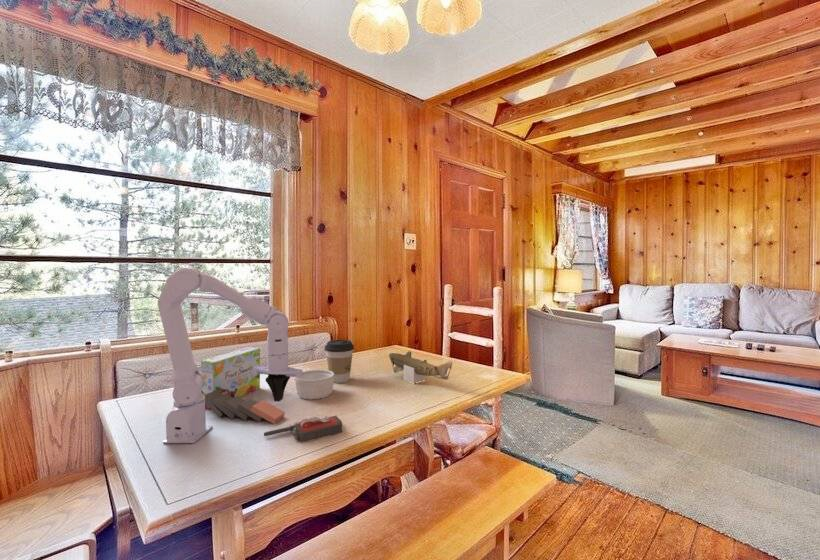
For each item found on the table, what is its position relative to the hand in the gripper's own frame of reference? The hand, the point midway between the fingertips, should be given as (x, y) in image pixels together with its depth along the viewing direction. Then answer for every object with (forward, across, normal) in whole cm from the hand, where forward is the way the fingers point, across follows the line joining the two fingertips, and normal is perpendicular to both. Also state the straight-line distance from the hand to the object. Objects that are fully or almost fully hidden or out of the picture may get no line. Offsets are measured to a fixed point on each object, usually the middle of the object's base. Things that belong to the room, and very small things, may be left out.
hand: (278, 400), depth 109 cm
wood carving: (+6, -31, -44) cm, 54 cm away
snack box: (+6, +26, -13) cm, 29 cm away
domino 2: (+5, +13, 0) cm, 14 cm away
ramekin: (+6, 0, -22) cm, 23 cm away
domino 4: (+5, +4, 0) cm, 7 cm away
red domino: (+5, 0, 0) cm, 5 cm away
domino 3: (+5, +9, 0) cm, 10 cm away
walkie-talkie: (+6, -12, +6) cm, 15 cm away
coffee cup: (+6, -2, -38) cm, 39 cm away
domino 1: (+5, +17, 0) cm, 18 cm away
